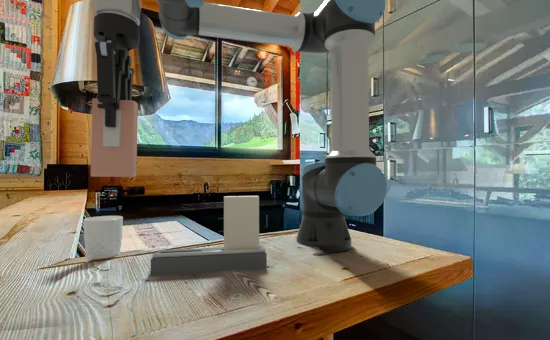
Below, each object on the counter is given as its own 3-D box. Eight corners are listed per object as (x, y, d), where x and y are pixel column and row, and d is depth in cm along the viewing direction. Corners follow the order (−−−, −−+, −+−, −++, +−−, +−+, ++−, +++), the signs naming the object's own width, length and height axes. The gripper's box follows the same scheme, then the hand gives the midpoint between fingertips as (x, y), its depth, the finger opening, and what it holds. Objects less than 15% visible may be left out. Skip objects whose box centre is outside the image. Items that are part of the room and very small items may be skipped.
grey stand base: (262, 266, 63) (262, 241, 64) (266, 276, 57) (266, 249, 57) (158, 272, 60) (158, 246, 60) (150, 283, 53) (150, 254, 53)
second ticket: (257, 262, 61) (257, 195, 62) (259, 265, 59) (258, 196, 59) (223, 264, 60) (223, 196, 60) (223, 267, 58) (224, 197, 58)
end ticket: (136, 176, 56) (137, 103, 56) (132, 176, 53) (134, 100, 54) (96, 176, 54) (98, 101, 55) (90, 176, 52) (92, 98, 52)
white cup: (105, 267, 63) (105, 221, 63) (74, 265, 65) (74, 220, 65) (130, 257, 71) (130, 216, 71) (102, 255, 72) (102, 215, 73)
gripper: (111, 38, 61) (108, 150, 61) (74, -7, 46) (71, 141, 46) (149, 42, 63) (147, 151, 62) (125, -1, 48) (122, 143, 47)
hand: (114, 147), depth 54 cm, fingers closed on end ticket, 2 cm apart
